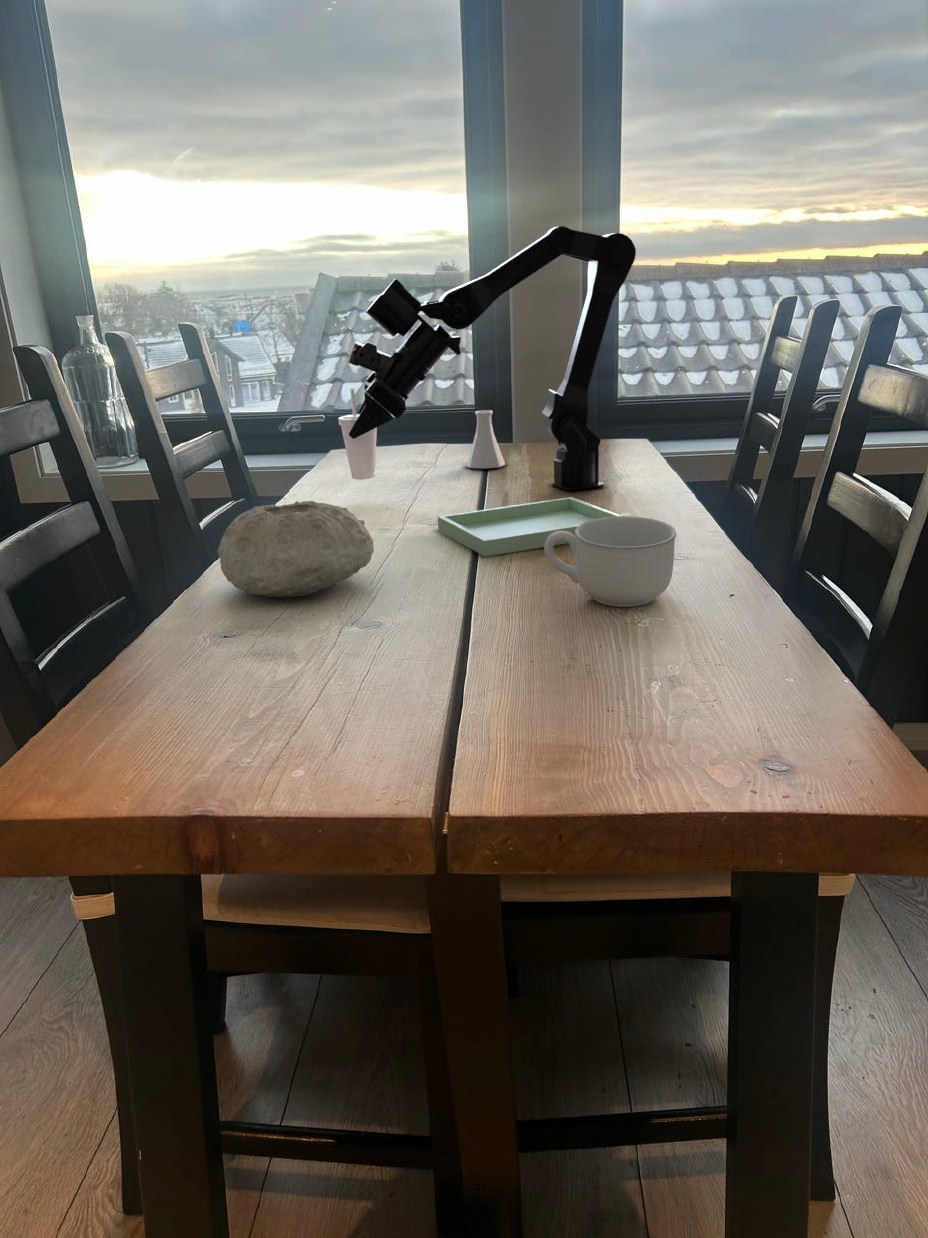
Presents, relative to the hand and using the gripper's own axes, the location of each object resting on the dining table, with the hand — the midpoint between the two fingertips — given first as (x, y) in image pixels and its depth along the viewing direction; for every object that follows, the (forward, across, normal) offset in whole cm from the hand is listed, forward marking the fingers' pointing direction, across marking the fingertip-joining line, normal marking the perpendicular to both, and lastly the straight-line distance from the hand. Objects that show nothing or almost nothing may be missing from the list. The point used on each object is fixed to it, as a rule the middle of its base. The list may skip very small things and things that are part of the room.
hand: (351, 433), depth 158 cm
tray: (-9, +27, +25) cm, 38 cm away
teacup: (-12, +58, +28) cm, 65 cm away
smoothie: (+4, 0, +6) cm, 7 cm away
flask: (-9, -22, +24) cm, 34 cm away
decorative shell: (+12, +46, +3) cm, 48 cm away
